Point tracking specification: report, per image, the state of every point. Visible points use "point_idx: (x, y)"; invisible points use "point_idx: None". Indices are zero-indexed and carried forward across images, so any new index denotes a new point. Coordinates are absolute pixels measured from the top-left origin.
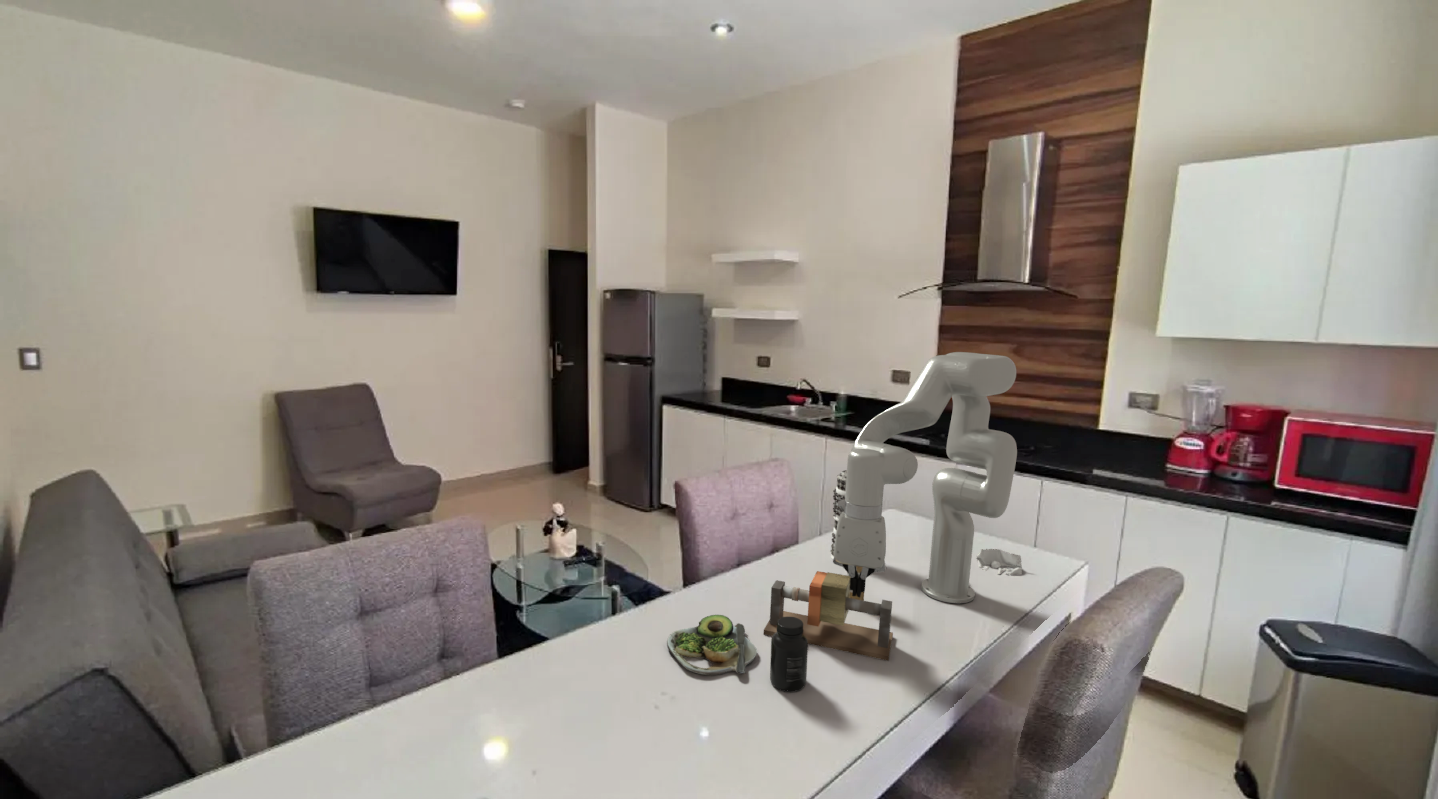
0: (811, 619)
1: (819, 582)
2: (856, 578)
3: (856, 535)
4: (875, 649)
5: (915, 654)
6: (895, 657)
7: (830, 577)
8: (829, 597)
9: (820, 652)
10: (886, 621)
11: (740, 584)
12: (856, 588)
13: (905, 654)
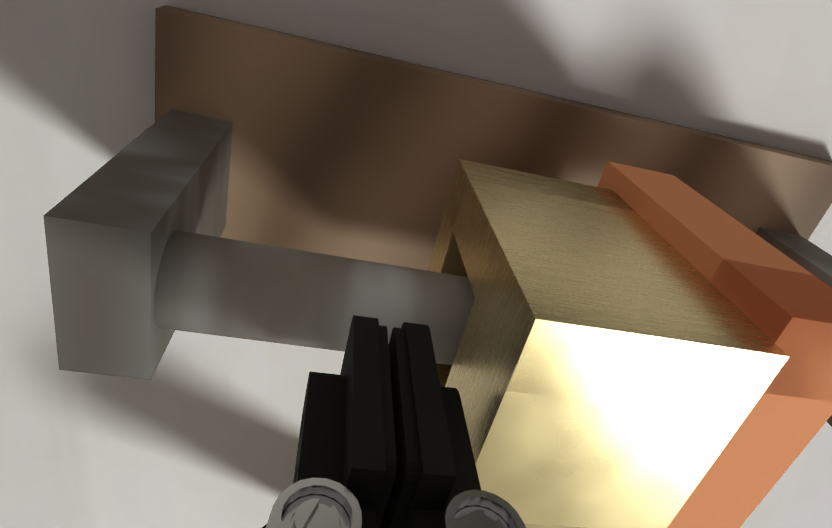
0: (670, 184)
1: (758, 416)
2: (411, 489)
3: None
4: (244, 80)
5: (11, 117)
6: (126, 58)
7: (636, 506)
8: (641, 274)
9: (570, 30)
10: (126, 172)
11: (792, 511)
12: (394, 389)
13: (70, 106)
